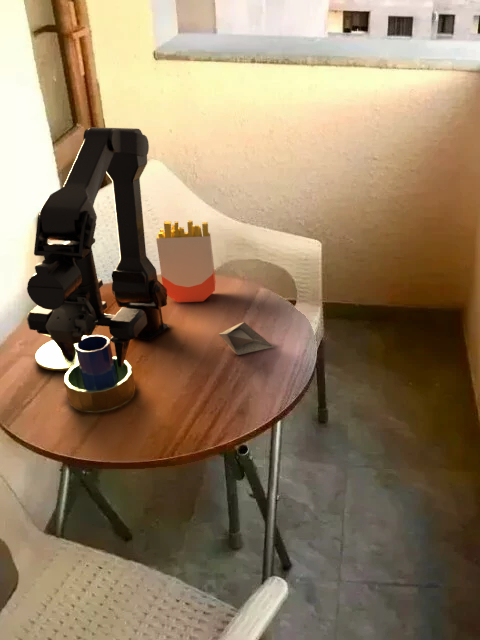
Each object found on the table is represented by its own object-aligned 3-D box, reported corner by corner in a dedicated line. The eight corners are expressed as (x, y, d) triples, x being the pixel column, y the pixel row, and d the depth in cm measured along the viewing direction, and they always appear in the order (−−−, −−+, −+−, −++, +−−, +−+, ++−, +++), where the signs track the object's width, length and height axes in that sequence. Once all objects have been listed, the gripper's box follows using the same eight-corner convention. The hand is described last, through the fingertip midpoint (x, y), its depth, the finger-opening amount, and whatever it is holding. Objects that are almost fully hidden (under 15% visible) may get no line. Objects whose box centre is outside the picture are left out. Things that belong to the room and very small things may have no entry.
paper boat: (255, 326, 145) (287, 330, 138) (249, 358, 144) (281, 363, 138) (209, 314, 136) (241, 317, 130) (202, 348, 136) (234, 353, 129)
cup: (102, 380, 130) (93, 332, 125) (125, 389, 128) (116, 340, 122) (79, 395, 126) (68, 346, 121) (102, 405, 124) (91, 355, 118)
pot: (103, 371, 134) (99, 350, 131) (148, 388, 129) (145, 367, 126) (55, 401, 126) (50, 379, 123) (102, 421, 121) (97, 399, 118)
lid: (71, 334, 145) (66, 311, 142) (115, 350, 140) (111, 327, 137) (23, 362, 136) (16, 338, 134) (67, 380, 131) (61, 356, 128)
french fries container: (167, 293, 160) (156, 215, 150) (216, 291, 161) (209, 213, 151) (165, 303, 156) (154, 223, 146) (215, 300, 157) (208, 221, 147)
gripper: (-3, 297, 110) (21, 383, 118) (111, 308, 107) (127, 395, 115) (35, 267, 119) (55, 348, 128) (141, 276, 116) (154, 359, 124)
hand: (96, 363), depth 123 cm, fingers open, 9 cm apart
